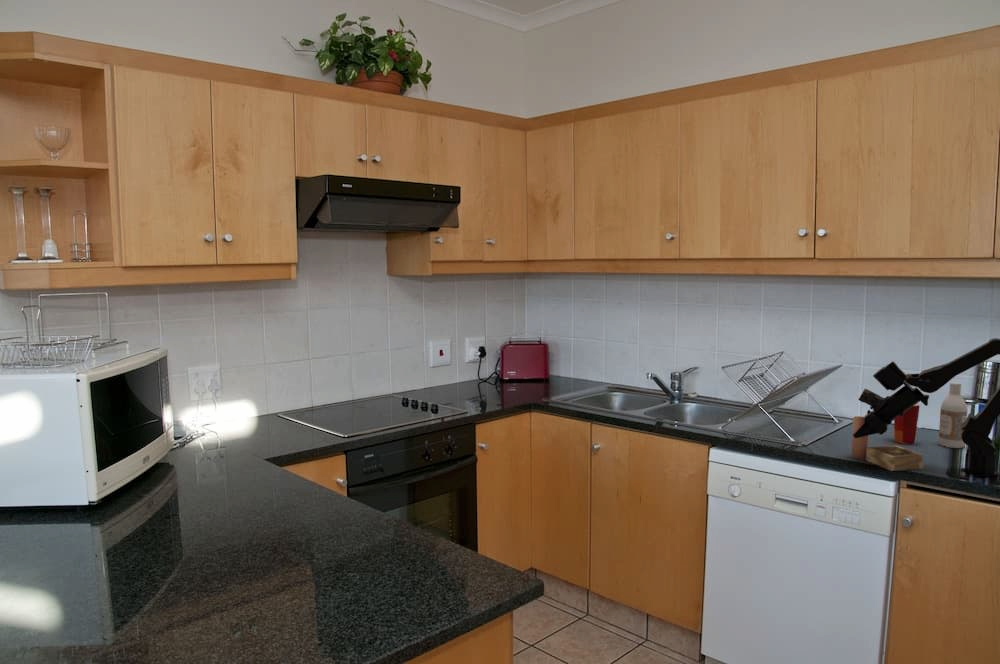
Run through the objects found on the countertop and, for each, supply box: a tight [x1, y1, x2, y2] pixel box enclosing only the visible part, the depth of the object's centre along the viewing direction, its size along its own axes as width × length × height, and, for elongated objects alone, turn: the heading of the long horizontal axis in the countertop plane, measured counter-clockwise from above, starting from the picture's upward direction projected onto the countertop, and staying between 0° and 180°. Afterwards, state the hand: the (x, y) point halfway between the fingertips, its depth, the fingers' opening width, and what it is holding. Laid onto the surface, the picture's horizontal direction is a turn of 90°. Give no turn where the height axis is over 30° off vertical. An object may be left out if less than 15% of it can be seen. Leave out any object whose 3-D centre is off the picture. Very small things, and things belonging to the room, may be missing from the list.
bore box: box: [865, 445, 924, 472], centre depth 202 cm, size 10×10×4 cm
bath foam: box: [938, 381, 968, 449], centre depth 220 cm, size 7×7×20 cm
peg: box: [851, 415, 869, 460], centre depth 209 cm, size 4×4×12 cm
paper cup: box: [893, 401, 921, 445], centre depth 225 cm, size 8×8×14 cm
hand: (855, 435), depth 209 cm, fingers closed on peg, 4 cm apart
